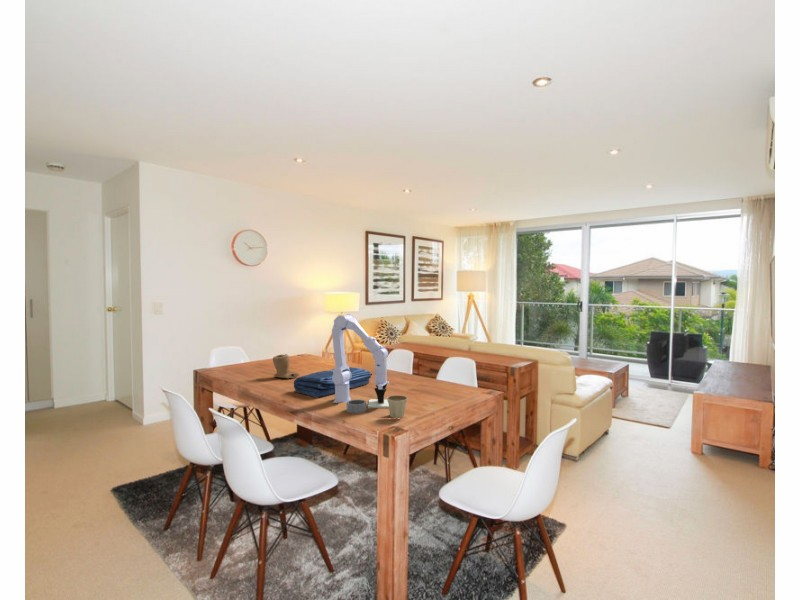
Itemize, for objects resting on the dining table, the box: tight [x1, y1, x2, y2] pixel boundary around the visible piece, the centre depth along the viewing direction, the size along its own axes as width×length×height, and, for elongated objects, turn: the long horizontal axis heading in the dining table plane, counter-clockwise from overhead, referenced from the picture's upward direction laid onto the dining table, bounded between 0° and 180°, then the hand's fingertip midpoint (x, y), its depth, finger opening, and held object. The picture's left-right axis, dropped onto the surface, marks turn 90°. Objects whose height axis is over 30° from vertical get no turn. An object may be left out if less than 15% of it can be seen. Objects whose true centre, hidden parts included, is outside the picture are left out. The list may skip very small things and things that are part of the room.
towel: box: [293, 366, 373, 398], centre depth 243 cm, size 24×43×10 cm, turn 144°
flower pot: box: [386, 394, 408, 420], centre depth 189 cm, size 9×9×9 cm
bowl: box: [345, 399, 367, 414], centre depth 197 cm, size 9×9×4 cm
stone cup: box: [272, 353, 300, 379], centre depth 269 cm, size 15×12×15 cm
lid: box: [367, 398, 389, 409], centre depth 207 cm, size 12×12×5 cm
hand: (380, 400), depth 207 cm, fingers open, 7 cm apart
